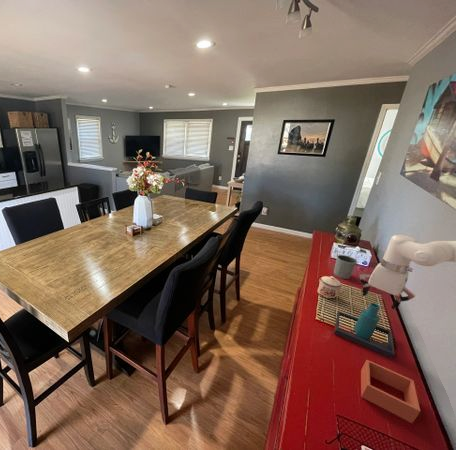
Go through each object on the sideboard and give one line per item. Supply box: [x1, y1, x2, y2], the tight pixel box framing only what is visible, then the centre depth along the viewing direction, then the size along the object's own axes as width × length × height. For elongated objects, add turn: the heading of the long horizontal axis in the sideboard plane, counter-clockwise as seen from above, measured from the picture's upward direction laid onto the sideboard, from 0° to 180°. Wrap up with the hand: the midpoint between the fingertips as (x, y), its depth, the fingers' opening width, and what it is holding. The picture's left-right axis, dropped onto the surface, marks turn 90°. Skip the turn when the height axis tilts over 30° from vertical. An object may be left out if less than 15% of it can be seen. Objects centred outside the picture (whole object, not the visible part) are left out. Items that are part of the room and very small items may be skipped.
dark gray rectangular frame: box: [333, 310, 396, 359], centre depth 107 cm, size 20×16×3 cm
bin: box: [360, 359, 421, 424], centre depth 82 cm, size 13×13×6 cm
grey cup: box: [333, 254, 358, 280], centre depth 151 cm, size 10×10×12 cm
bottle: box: [354, 302, 381, 339], centre depth 104 cm, size 6×6×16 cm
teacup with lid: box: [316, 275, 347, 299], centre depth 131 cm, size 12×9×12 cm
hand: (378, 301), depth 100 cm, fingers open, 9 cm apart
